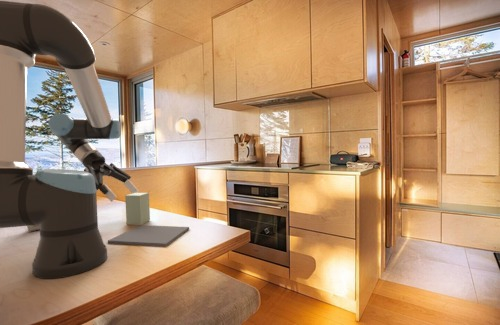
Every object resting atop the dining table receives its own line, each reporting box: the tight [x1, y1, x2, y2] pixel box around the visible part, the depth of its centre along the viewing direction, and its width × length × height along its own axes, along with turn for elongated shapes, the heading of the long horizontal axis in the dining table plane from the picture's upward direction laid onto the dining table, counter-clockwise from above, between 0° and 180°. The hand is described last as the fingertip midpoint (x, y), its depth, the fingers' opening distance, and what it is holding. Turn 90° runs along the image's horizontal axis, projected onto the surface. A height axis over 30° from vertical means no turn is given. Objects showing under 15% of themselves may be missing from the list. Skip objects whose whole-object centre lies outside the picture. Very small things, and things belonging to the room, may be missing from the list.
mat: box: [107, 224, 190, 247], centre depth 85 cm, size 16×19×1 cm
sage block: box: [124, 192, 151, 226], centre depth 101 cm, size 6×6×11 cm
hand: (126, 195), depth 103 cm, fingers open, 13 cm apart
